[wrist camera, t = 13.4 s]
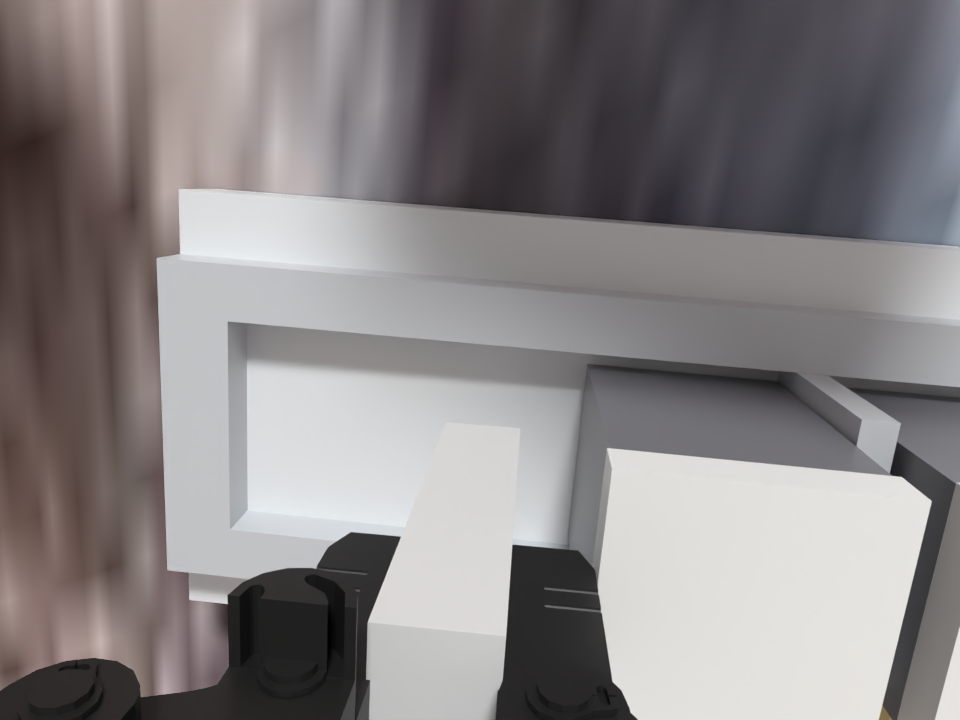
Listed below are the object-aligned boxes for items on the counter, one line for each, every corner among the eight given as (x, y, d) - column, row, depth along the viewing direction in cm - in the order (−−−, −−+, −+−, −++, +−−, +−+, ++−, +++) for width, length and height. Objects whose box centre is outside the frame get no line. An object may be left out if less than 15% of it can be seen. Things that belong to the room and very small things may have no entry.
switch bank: (223, 559, 20) (92, 713, 14) (219, 189, 17) (57, 189, 12) (1262, 675, 18) (1603, 906, 12) (1414, 282, 16) (1929, 337, 10)
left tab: (566, 534, 16) (579, 730, 10) (585, 361, 15) (611, 469, 9) (748, 553, 16) (867, 766, 10) (779, 378, 15) (932, 501, 9)
